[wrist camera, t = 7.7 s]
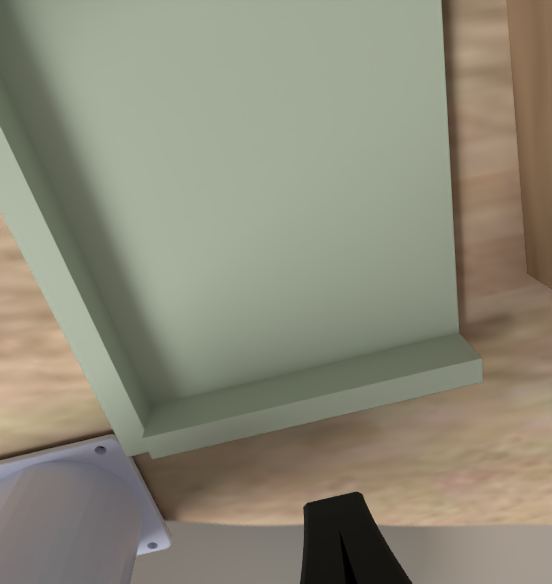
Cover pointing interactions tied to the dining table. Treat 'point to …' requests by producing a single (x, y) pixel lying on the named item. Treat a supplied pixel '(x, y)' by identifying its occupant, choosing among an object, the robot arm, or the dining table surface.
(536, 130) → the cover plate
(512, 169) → the dining table surface
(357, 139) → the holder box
